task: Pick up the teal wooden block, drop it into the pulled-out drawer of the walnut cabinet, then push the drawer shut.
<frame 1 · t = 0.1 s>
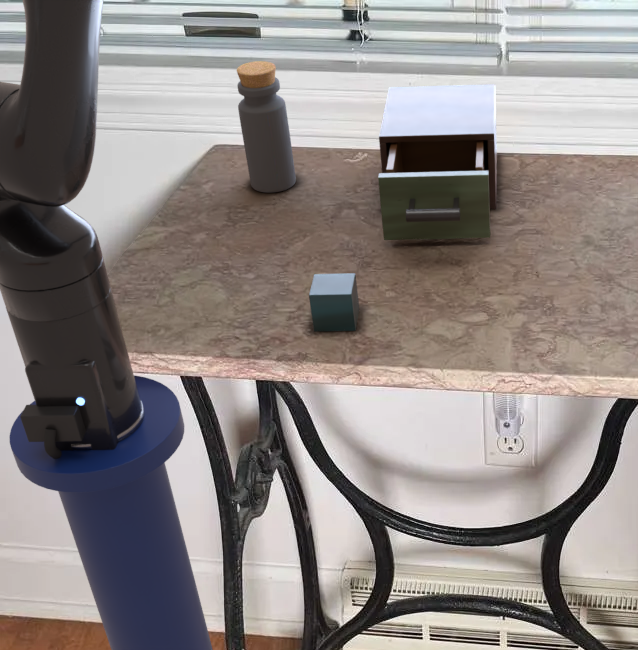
cabinet: (443, 182, 151), on the table
block: (337, 320, 126), on the table
drawer: (437, 188, 139), point 5 cm above the table, slide at 8.0 cm
bottle: (273, 184, 153), on the table
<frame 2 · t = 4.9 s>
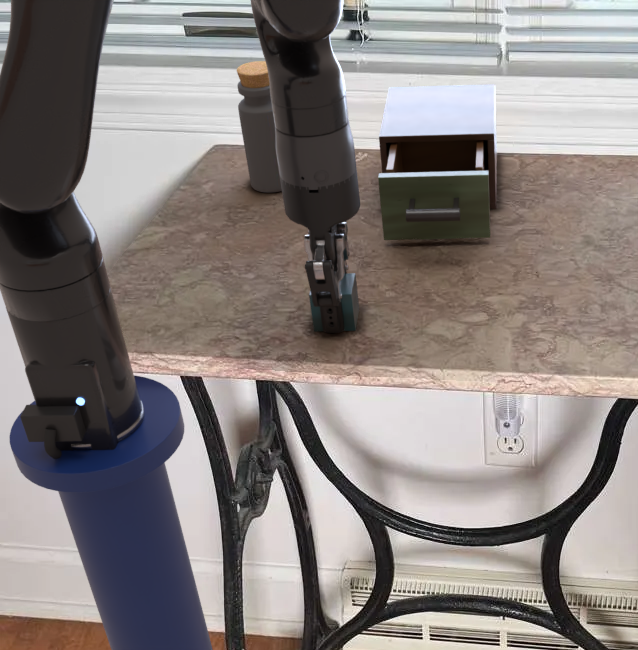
hand: (336, 317, 126), 0 cm above the table, tool pointing down, fingers closed on block, 4 cm apart
block: (337, 320, 126), on the table, touching gripper
everything else where it was.
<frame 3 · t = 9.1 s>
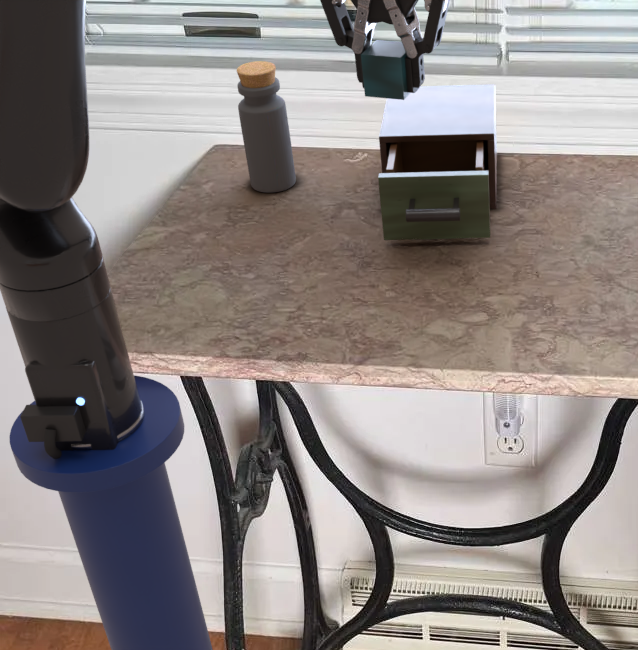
hand: (391, 87, 125), 20 cm above the table, tool pointing down, fingers closed on block, 4 cm apart
block: (392, 90, 125), point 19 cm above the table, touching gripper
everything else where it was.
when the fingers open (7 cm above the table, at t = 13.5 s): block drops 5 cm, resting on drawer.
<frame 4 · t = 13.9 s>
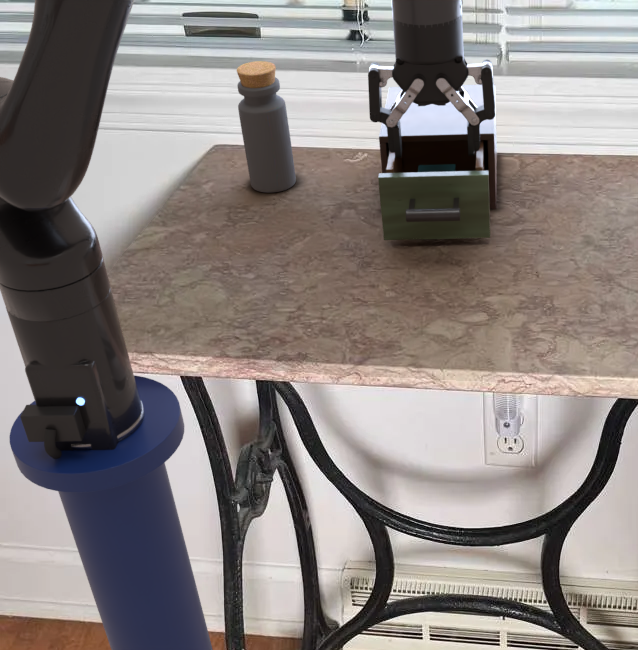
hand: (435, 154, 137), 9 cm above the table, tool pointing down, fingers open, 8 cm apart
block: (438, 207, 142), point 2 cm above the table, touching drawer
drawer: (437, 188, 139), point 5 cm above the table, slide at 8.0 cm, touching block
everything else where it was.
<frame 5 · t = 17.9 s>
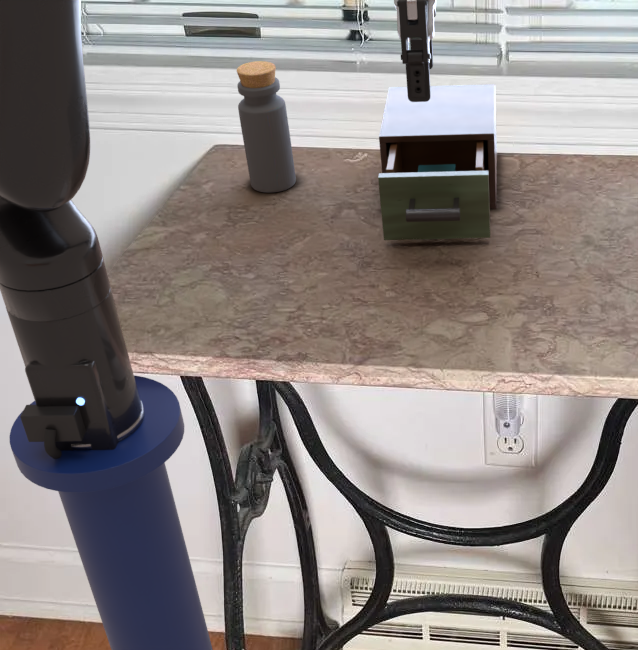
hand: (421, 84, 119), 22 cm above the table, tool pointing down, fingers open, 8 cm apart
nothing on the table moved.
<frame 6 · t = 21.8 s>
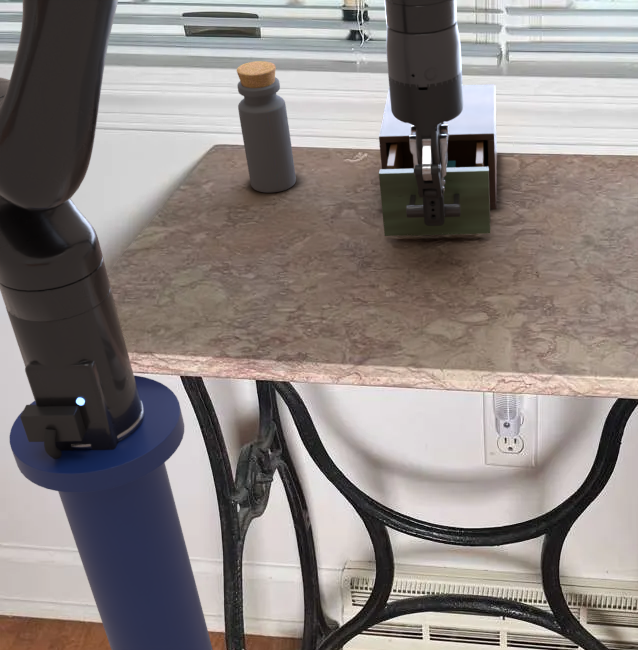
hand: (434, 222, 131), 5 cm above the table, tool pointing down, fingers closed
block: (438, 203, 142), point 2 cm above the table, touching drawer
drawer: (437, 184, 140), point 5 cm above the table, slide at 7.0 cm, touching block, gripper
everything else where it was.
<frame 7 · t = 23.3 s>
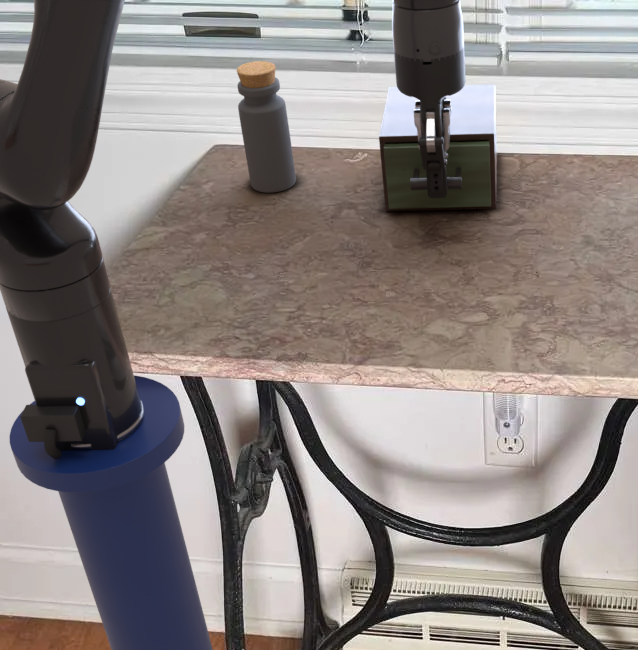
hand: (437, 195, 137), 5 cm above the table, tool pointing down, fingers closed
block: (441, 177, 148), point 2 cm above the table, touching drawer
drawer: (440, 159, 145), point 5 cm above the table, slide at 0.0 cm, touching block, cabinet, gripper
everything else where it was.
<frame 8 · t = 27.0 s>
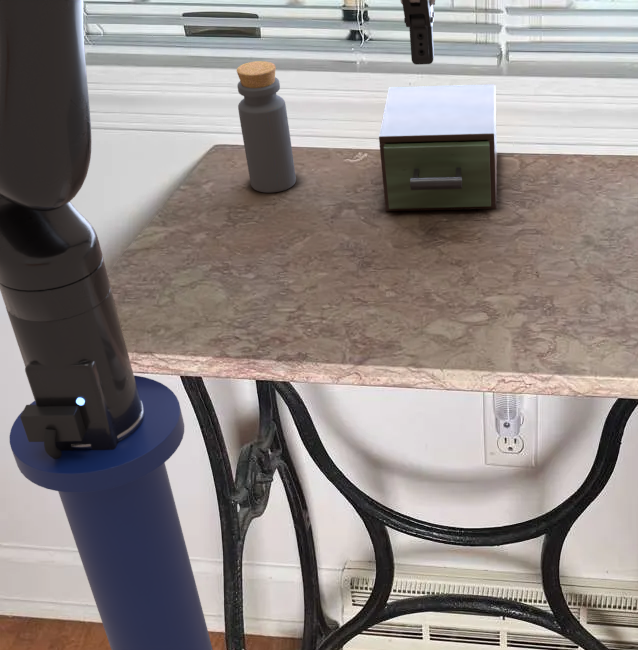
hand: (423, 61, 120), 23 cm above the table, tool pointing down, fingers closed
drawer: (440, 159, 145), point 5 cm above the table, slide at 0.0 cm, touching block
everything else where it was.
at the end: block inside the target area in the cabinet (3.0 cm from its centre), point 2.0 cm above the cabinet's base; drawer slide at 0.0 cm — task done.
